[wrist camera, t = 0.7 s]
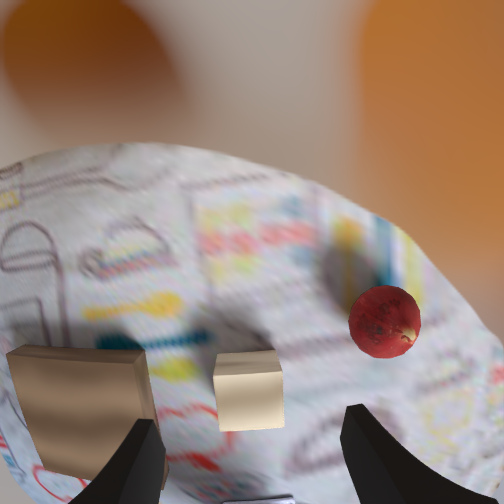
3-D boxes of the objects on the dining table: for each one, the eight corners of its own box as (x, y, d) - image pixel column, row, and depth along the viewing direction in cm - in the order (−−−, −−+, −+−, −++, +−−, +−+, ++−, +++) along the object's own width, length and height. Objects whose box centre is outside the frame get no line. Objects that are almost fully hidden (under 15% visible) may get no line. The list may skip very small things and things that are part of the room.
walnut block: (169, 467, 28) (163, 490, 24) (59, 452, 27) (45, 469, 23) (146, 348, 27) (132, 363, 23) (27, 343, 27) (5, 354, 23)
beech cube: (277, 399, 27) (284, 427, 22) (222, 402, 27) (219, 431, 22) (275, 349, 27) (282, 371, 22) (217, 353, 27) (213, 375, 22)
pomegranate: (331, 339, 27) (362, 373, 19) (345, 275, 27) (384, 288, 19) (387, 345, 28) (430, 376, 20) (402, 285, 27) (451, 299, 19)
